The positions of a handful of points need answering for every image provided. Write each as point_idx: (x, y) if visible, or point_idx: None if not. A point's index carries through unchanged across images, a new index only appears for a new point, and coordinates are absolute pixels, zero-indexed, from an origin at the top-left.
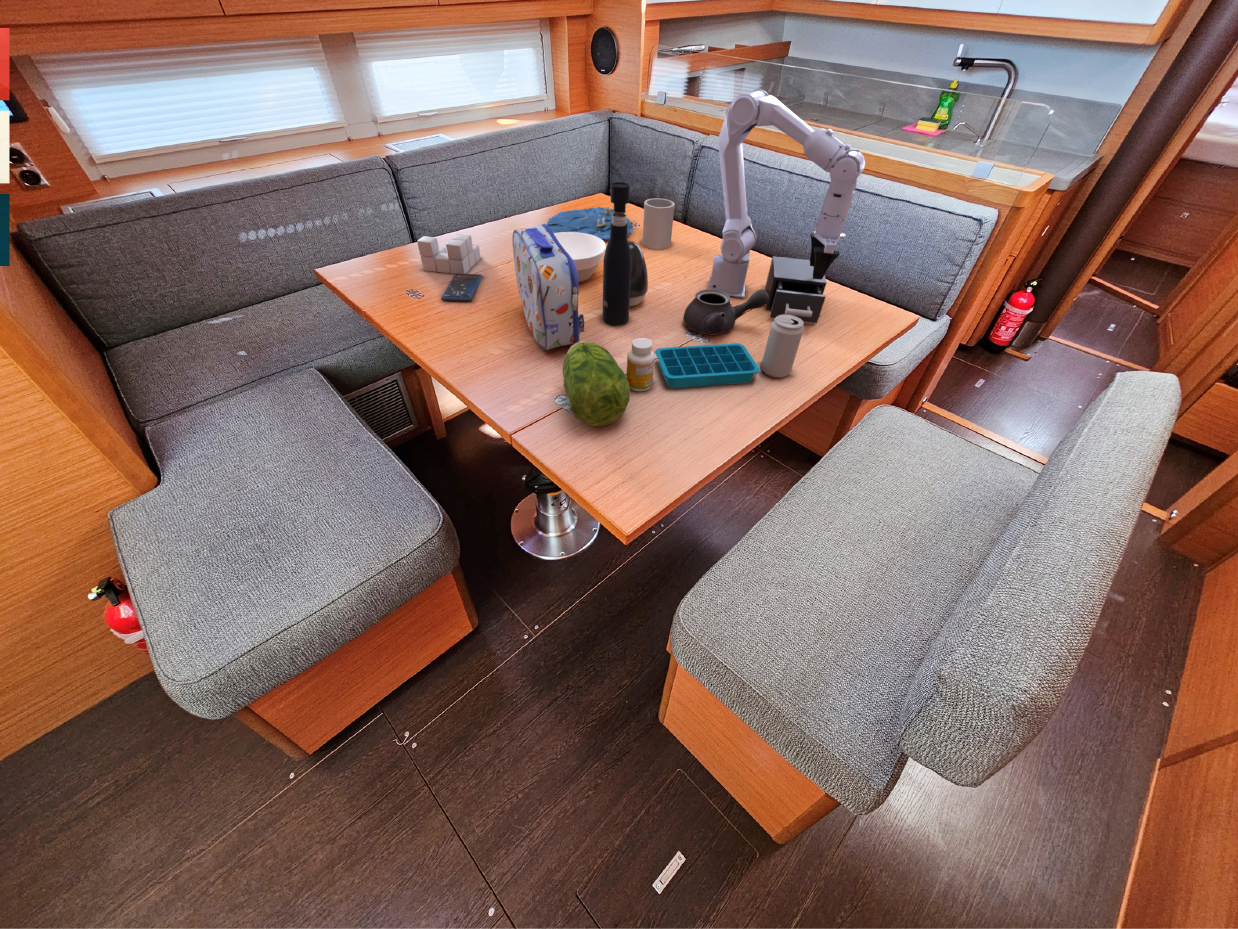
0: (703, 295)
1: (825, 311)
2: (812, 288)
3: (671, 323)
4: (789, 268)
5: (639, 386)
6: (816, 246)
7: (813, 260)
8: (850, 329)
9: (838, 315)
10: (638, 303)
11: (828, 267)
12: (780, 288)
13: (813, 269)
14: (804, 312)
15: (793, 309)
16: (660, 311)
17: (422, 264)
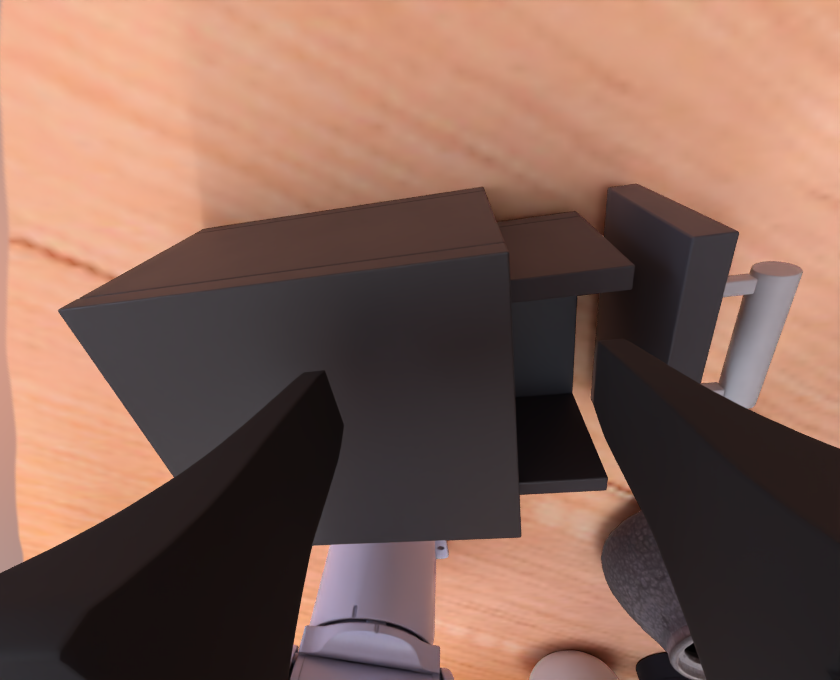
0: (690, 653)
1: (406, 130)
2: None
3: None
4: (350, 483)
5: None
6: (277, 592)
7: (328, 451)
8: None
9: (428, 32)
10: (591, 657)
11: (742, 407)
12: (606, 484)
13: (623, 471)
14: (786, 316)
15: (759, 378)
16: (603, 617)
17: None
